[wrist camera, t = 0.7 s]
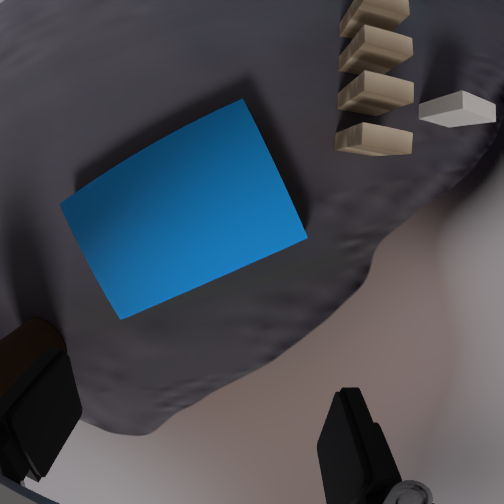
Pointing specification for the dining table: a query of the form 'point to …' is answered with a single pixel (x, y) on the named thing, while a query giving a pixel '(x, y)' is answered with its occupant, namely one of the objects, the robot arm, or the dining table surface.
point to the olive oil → (25, 349)
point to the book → (183, 212)
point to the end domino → (458, 110)
